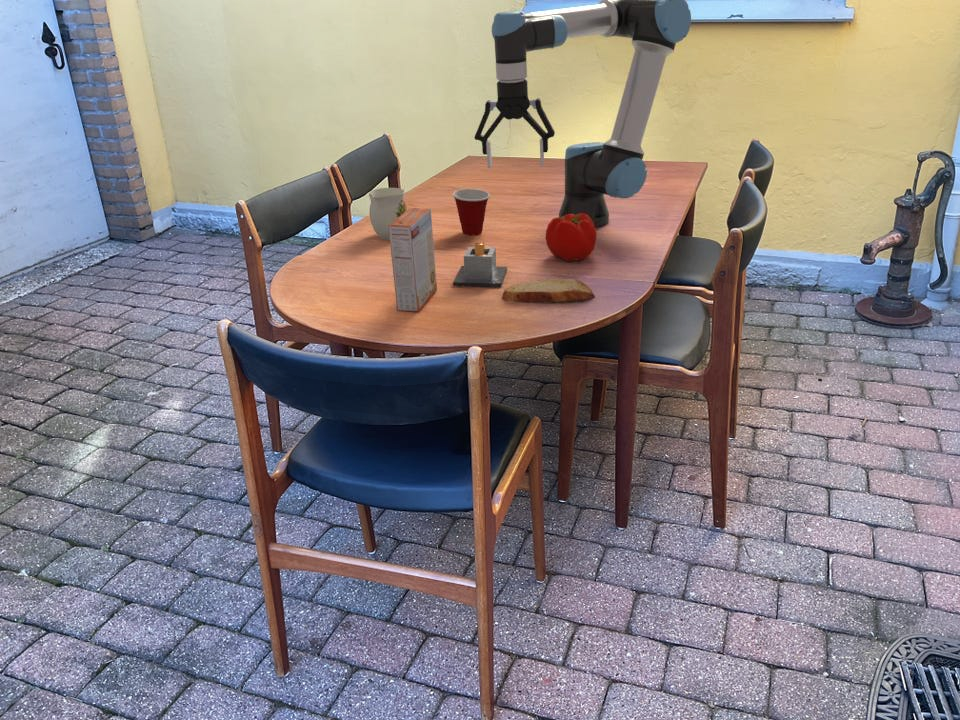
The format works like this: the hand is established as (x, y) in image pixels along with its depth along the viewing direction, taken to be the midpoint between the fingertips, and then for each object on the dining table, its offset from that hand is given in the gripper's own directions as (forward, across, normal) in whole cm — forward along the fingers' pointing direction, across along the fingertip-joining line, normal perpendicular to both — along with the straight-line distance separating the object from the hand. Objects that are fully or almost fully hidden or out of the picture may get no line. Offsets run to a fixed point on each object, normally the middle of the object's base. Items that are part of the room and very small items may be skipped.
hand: (515, 166), depth 208 cm
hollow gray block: (+23, +8, +18) cm, 30 cm away
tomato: (+25, -14, +1) cm, 29 cm away
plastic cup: (+25, +16, -20) cm, 35 cm away
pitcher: (+24, +40, -17) cm, 50 cm away
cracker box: (+23, +22, +33) cm, 46 cm away
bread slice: (+25, -9, +29) cm, 39 cm away
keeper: (+24, +8, +18) cm, 31 cm away
